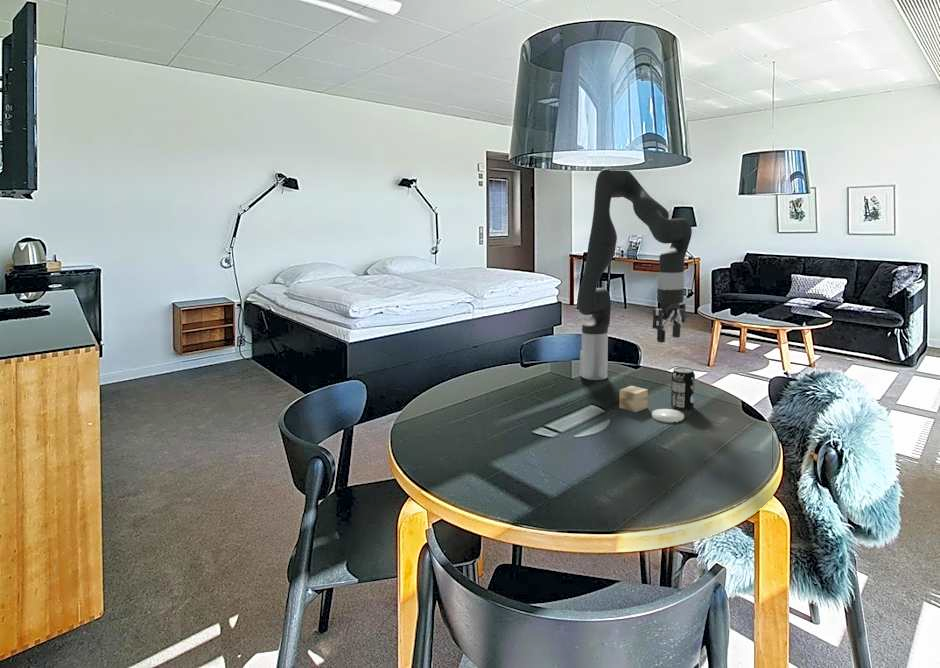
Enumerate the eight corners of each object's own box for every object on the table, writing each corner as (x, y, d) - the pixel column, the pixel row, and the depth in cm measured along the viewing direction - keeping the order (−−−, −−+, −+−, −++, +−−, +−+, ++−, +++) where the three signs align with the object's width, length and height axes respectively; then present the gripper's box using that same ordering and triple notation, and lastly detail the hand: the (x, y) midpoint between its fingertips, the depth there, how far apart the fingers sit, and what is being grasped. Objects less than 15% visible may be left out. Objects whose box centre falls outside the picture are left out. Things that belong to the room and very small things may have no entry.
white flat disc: (645, 417, 164) (645, 414, 164) (662, 409, 170) (663, 406, 169) (672, 425, 157) (672, 421, 157) (690, 417, 163) (690, 414, 162)
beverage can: (690, 403, 174) (691, 366, 172) (696, 410, 168) (697, 372, 166) (668, 403, 175) (669, 366, 173) (674, 410, 169) (675, 372, 166)
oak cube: (619, 408, 173) (619, 389, 172) (631, 403, 177) (631, 385, 176) (635, 412, 169) (636, 393, 167) (647, 407, 172) (647, 389, 171)
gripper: (672, 283, 172) (670, 334, 176) (646, 288, 164) (644, 341, 167) (694, 285, 167) (692, 337, 170) (669, 290, 158) (667, 345, 161)
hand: (668, 339), depth 169 cm, fingers open, 8 cm apart
